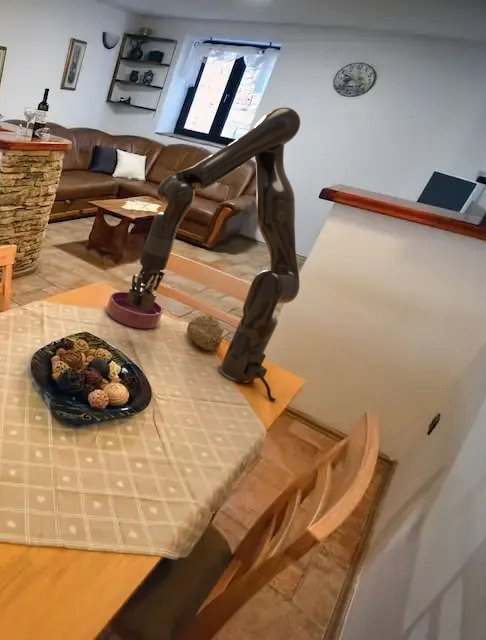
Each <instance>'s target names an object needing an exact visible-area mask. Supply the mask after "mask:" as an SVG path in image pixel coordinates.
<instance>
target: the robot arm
mask: <svg viewBox="0 0 486 640" xmlns="http://www.w3.org/2000/svg"><path fill="white" fill-rule="evenodd" d="M300 127H301V117H300V115H299V114H298V112H297V110H295V109H293V108H291V107H287V106H286V107H284V106H283V107H278V108H275V109H273V110H272V111H271V110H270V111H269V112H268V113H267V114H266V115H264V116H263V117H262V118H261V119H260V120H259V121H258V122H257V123H256V125H255V126H254V128H252V129H251V130H250V131H247V132H246V133H245V134H244V135H242V136H240V137H238V138H237V139H236V140H234V141H233V142H231V143H229V144H228V145H226V146H224V147H222V148H220V149H218V151H215V152H214V153H213V154H211V155H208V156H207V157H206V158H204V159H203V160H201V161H200V162H197V164H195V165H193V166H191V167H189V168H188V167H187V168H185V169H183V170H181V171H178V172H175V173H173V174H171V175H169V176H168V177H166V178H165V179H164V180H162V182H160V184H159V185H158V188H157V192H156V193H157V197H158V200H160V202H162V203H163V204H165V205H166V207H165V210H164V211H163V212H158V213H156V214H155V216H154V218H153V220H152V223H151V227H150V230H149V233H148V236H147V238H146V240H145V243H144V246H143V249H142V252H141V256H140V259H139V264H140V265H141V269H140V271H139V274H133V276H132V280H131V287H130V288H131V292H132V293H135V296H134V299H133V302H132V305H133V306H135V307H139V305H140V302H141V299H142V295H143V293H144V291H145V290H146V291H148V292H150V293H152V294H154V291H157V290H158V288H159V286H160V284H161V283H162V280H163V278H164V276H165V275H166V274H165V270H166V268H167V265H168V262H169V259H170V256H171V253H172V250H173V246H174V242H175V239H176V235H177V232H178V229H179V225H180V224H181V222H183V220H184V219H185V216H186V215H187V213H188V211H189V210H190V209H191V206H192V204H193V202H194V198H195V190H197V191H204V190H206V189H209V188H210V187H212V186H214V185H215V184H217V183H218V182H220V181H222V180H223V179H225V178H226V177H227V176H229V175H231V174H232V173H233V172H234V171H236V170H237V169H239V168H240V167H241V166H243V165H244V164H246V163H247V162H248V161H250V160H252V159H253V158H254V160H255V168H256V169H255V171H256V221H257V222H256V224H257V227H258V230H259V232H260V235H261V236H262V239H263V241H264V242H265V245H266V247H267V250H268V253H269V263H270V268H269V269H266V270H262V271H260V272H259V273H257V274H256V276H255V277H254V278H253V280H252V281H251V284H250V286H249V289H248V292H247V294H246V296H245V300H244V301H243V302H244V303H243V305H242V316H241V317H240V320H239V322H238V325H237V327H236V329H235V332H234V333H233V336H232V338H231V341H230V343H229V346H228V348H227V350H226V353H225V354H224V358H223V360H222V361H221V364H220V366H219V368H218V371H219V372H220V374H222V375H223V376H224V377H225V378H227V379H229V380H231V381H233V382H235V383H236V384H253V383H254V382H255V380H256V379H260V380H261V382H262V384H263V385H264V386H265V388H266V394H267V397H268V399H269V400H270V401H272V402H275V401H276V398H274V397H273V396H272V393H271V388H270V385H269V383H268V382H267V381H266V379H265V376H266V374H267V372H268V369H267V368H266V367H265V366H264V365H263V364H264V361H265V359H266V356H267V355H266V354H265V352H266V350H267V347H268V345H269V343H270V340H271V339H272V337H273V335H274V333H275V330H276V328H277V326H278V323H279V322H278V319H277V317H276V316H275V315H274V313H275V310H276V307H277V305H283V304H284V305H285V304H288V303H291V302H293V301H294V300H295V299H296V298H297V297H298V294H299V292H300V286H301V285H300V273H299V266H298V259H297V248H296V202H295V201H296V199H295V192H294V189H293V187H292V184H291V183H290V182H291V181H290V180H289V178H288V176H287V174H286V170H285V164H284V156H285V155H284V153H285V152H284V151H285V150H284V149H285V145H286V144H287V143H289V142H290V141H292V140H293V139H294V137H296V135H297V134H298V132H299V130H300ZM135 288H136V289H135ZM141 288H142V290H141Z"/></svg>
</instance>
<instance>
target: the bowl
mask: <svg viewBox="0 0 486 640" xmlns="http://www.w3.org/2000/svg"><path fill="white" fill-rule="evenodd" d="M128 293H129V291H115V292H113V293H111V294H110V296H109V299H108V302H107V307H106V313H107V314H108V315H109V316H110V317H111V318H112V319H113V320H115V321H116V322H117V323H120V324H122V325H124V326H128V327H131V328H134V329H135V328H136V329H152V328H155V327H157V326H158V325H159V323H160V321H161V318H162V315H163V313H164V311H163V310H164V308H163V306H162V305H161V304H159V302H158V301H156V300H155V302H154V305H153V308H152V309H151V310H148V311H143V310H141V309H139V308H137V307H135V306H133V305H131V304H129V303H127V302H126V300H127V296H128Z"/></svg>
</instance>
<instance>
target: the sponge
mask: <svg viewBox="0 0 486 640" xmlns="http://www.w3.org/2000/svg"><path fill="white" fill-rule="evenodd" d="M186 330H187V331H186V332H187V334H188V336H189V337H190V338H191V339H192V341H194V343H195V344H196V345H197V346H198V347H200V348H201V349H203V350H206V351H214V350H216V349H218V348H219V347H220V345H221V343H222V339H223V338H222V335H223V333H224V330H225V328H224V326H223V324H222V323H221V322H220V321H219V320H217V319H216V318H214V316H211V315H208V314H205V315H202V316H200V315H199V316H197V317H195V318H193V319H192V320H191V321H190V322H189V323H188V325H187V329H186Z"/></svg>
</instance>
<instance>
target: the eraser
mask: <svg viewBox="0 0 486 640" xmlns="http://www.w3.org/2000/svg"><path fill="white" fill-rule="evenodd" d="M131 288H132V287H130V288H129V290H128V292H129V293H128V296H127V300H126V302H127V303H129V304H131V305H132V302H133V299H134V296H135V293H132V292H131ZM135 289H136V288H135ZM141 290H142V288H141ZM156 299H157V295H156V294H154V293H150V292H148V291H146V290H145V291H144V293H143V295H142V299H141V302H140V305H139V307H137V308H139V309H141V310H143V311H148V310H151V309H152V308H153V305H154V302H155V301H156Z"/></svg>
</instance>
